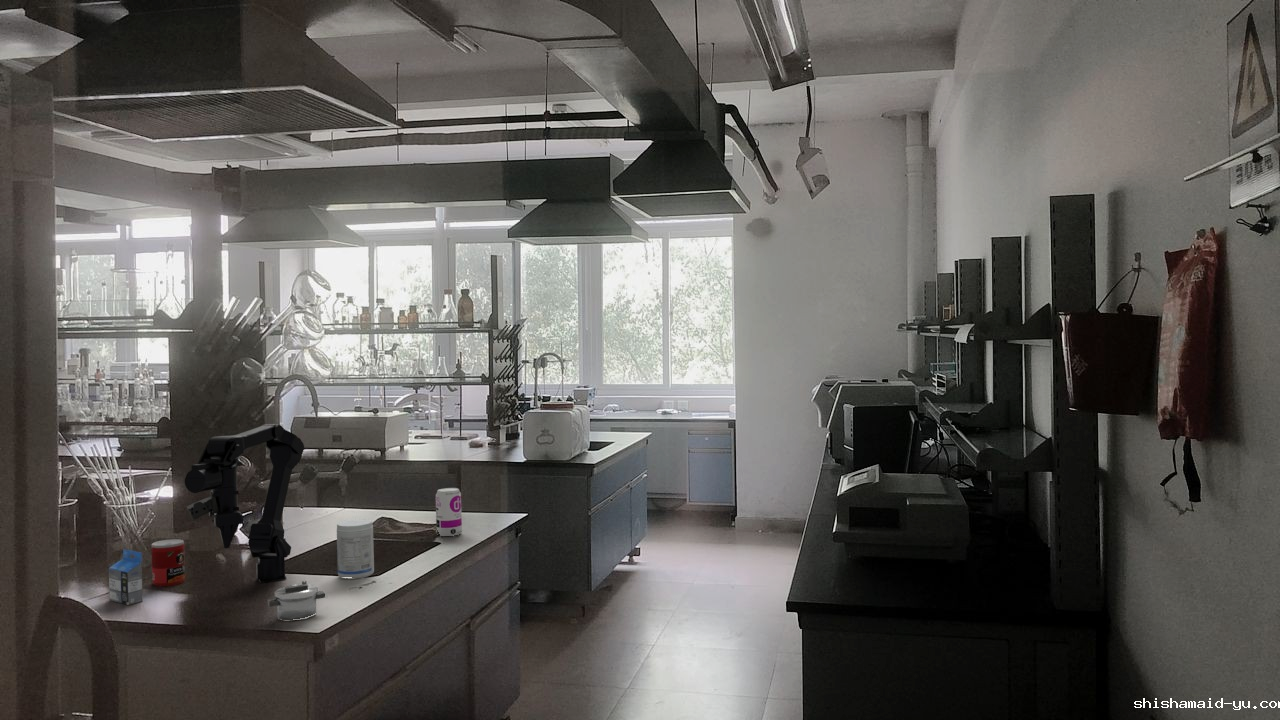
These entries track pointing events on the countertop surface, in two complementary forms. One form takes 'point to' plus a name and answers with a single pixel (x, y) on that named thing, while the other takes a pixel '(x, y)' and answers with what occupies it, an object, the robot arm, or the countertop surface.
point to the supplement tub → (355, 548)
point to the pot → (296, 607)
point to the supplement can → (448, 511)
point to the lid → (296, 591)
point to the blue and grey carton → (126, 579)
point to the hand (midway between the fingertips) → (226, 548)
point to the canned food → (168, 562)
